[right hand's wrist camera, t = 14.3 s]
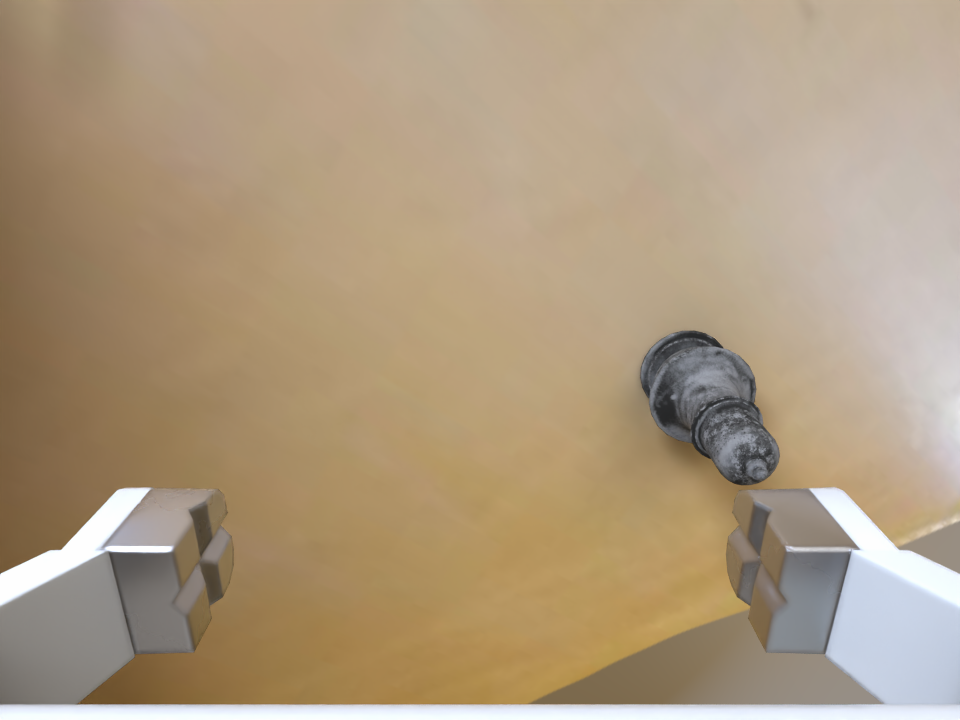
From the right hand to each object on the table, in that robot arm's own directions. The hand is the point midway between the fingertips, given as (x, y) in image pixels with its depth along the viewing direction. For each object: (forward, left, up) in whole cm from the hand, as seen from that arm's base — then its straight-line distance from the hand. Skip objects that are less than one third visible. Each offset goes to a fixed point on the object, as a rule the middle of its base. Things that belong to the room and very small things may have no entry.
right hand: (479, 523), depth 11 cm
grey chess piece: (+9, +12, -28) cm, 32 cm away
